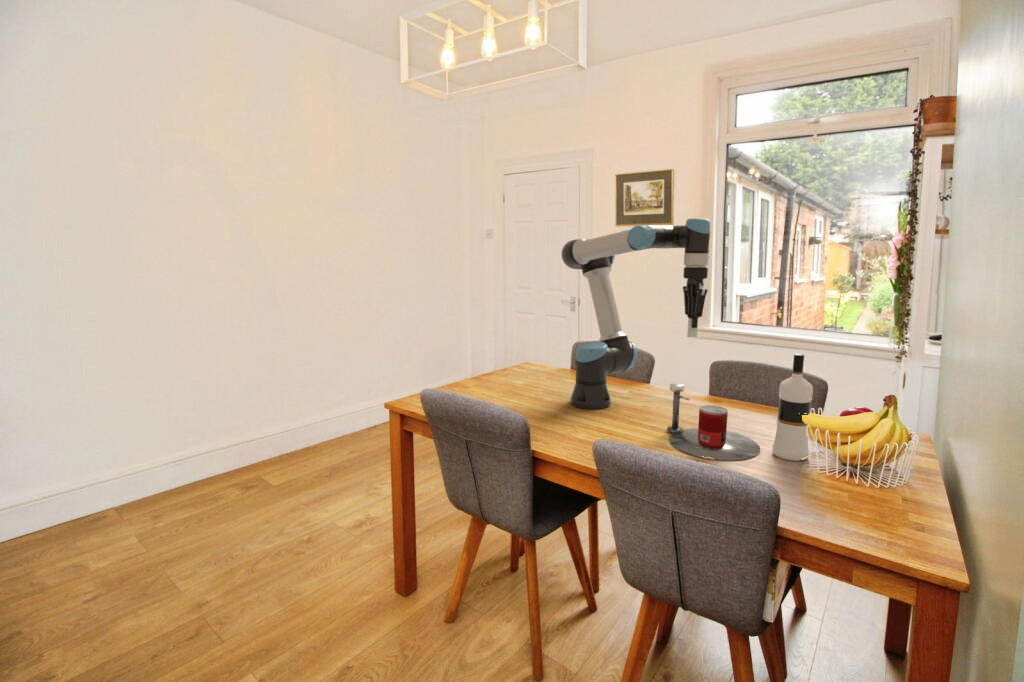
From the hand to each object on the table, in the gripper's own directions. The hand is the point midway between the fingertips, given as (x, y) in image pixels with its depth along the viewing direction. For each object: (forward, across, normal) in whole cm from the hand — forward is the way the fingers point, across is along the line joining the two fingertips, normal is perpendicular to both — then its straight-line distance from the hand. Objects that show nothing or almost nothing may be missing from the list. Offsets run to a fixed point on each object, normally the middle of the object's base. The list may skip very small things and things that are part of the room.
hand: (692, 336), depth 179 cm
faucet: (+29, -10, +9) cm, 32 cm away
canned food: (+29, -22, +3) cm, 37 cm away
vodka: (+30, -34, -15) cm, 48 cm away
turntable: (+29, -22, +2) cm, 37 cm away
